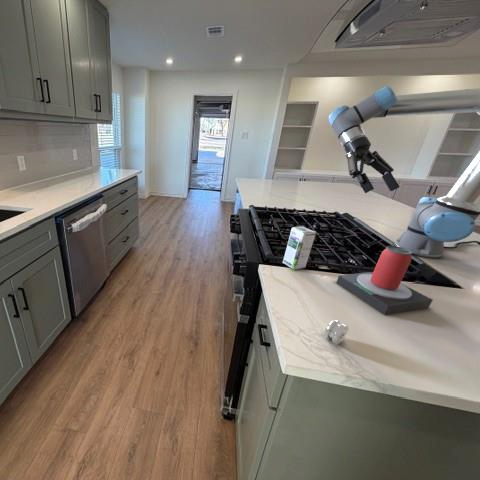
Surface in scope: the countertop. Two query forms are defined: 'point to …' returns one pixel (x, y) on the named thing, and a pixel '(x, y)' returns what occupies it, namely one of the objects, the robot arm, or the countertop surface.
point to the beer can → (391, 267)
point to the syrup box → (299, 247)
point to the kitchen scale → (383, 294)
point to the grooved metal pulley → (336, 331)
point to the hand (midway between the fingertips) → (382, 190)
